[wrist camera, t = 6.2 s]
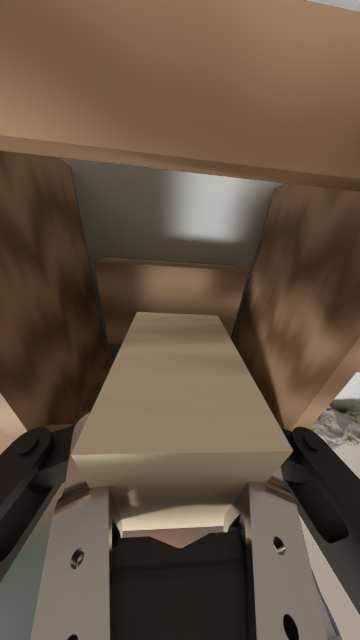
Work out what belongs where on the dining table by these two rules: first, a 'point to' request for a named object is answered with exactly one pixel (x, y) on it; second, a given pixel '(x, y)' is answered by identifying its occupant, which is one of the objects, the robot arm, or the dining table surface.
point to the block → (178, 425)
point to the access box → (188, 156)
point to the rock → (338, 426)
